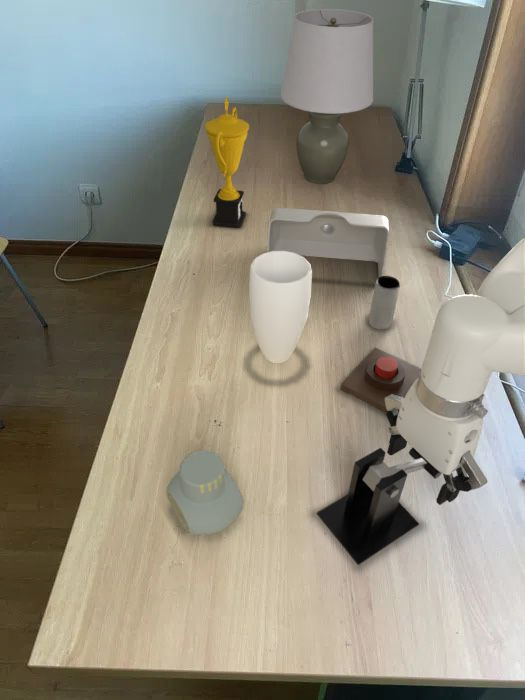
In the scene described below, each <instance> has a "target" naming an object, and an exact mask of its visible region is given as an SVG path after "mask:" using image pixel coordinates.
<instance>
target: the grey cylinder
mask: <svg viewBox="0 0 525 700" xmlns="http://www.w3.org/2000/svg"><path fill="white" fill-rule="evenodd" d="M400 289H401V282H400V280H399V279H398V278H396V277H394V276H390V275H383V276H381V277H379V276H378V277H377V278H376V280H375V283H374V288H373V295H372V300H371V303H370V310H369V316H368V325H370V326H371V327H373V328H375V329H377V330H386V329H390V328H391V326H392V325H393V324H392V323H393V320H394V315H395V310H396V305H397V301H398V297H399V293H400Z"/></svg>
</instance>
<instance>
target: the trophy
mask: <svg viewBox="0 0 525 700" xmlns="http://www.w3.org/2000/svg"><path fill="white" fill-rule="evenodd" d="M228 110H229V97H228V96H226V97H225V99H224V111H225V113H223V114H220V115H219V116H218V117H217V118H214V119H213V118H212V119H211V120H209V121H207V122H206V123H205V124H204V129H205V131H206V136H207V138H208V140H209V141H210V145H211V150H212V153H213V155H214V156H213V157H214V160H215V163H216V165H217V169H218V170H219V171H220V173H222V176H223V177H225V178H224V179H225V185H224V186H222V187H221V188H219V189H218V190H217V192H216V194H215V195H214V198H213V202H214V203H215V212H216V213H215V215H214V218H213V220H212V226H214V227H220V228H231V229H240V228H241V227H243V224H244V221H245V219H246V216H247V212H246V211H244V210H243V197H244V194H245V192H244V190H238V189H236V187H235V186H233V184H232V183H233V182H232V176H233V175H234V173H236V172H237V170H238V169H239V165H240V162H241V157H242V154H243V150H244V147H245V142H246V140H247V137H248V132H249V129H250V124H249V123H248V122H246V121H245V120H243V119H240V118H238V109H237V107H235V106H233V107H232V109H231V113H228Z"/></svg>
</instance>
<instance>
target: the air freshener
mask: <svg viewBox="0 0 525 700" xmlns="http://www.w3.org/2000/svg"><path fill="white" fill-rule="evenodd" d="M165 491H166V496H167V498H168V501H169V504H170V506H171V508H172V509H173V512H174V513H175V515H176V517H177V518H178V520H179V522H180V524H181V525H182V527H183V528H184V530H185V531H186V532H187V533H188V534H191V535H194V536H210V535H215V534H218V533H221V532H222V531H224V530H226V529H228V528H229V527H230V526H231V525H232V524H233V523H234V522H236V520H237V519H238V518H239V516H240V514H241V512H242V509H243V507H244V498H243V495H242V492H241V490H240V488H239V487H238V485H237V483H236V481H235V480H234V478H233V477H232V475H231V474H230V472H229V471H228V470H227V469H226V468H225V463H224V460H223V458H222V457H220V455H218V454H217V453H215V452H213V451H210V450H206V449H205V450H197V451H194V452H191V453H189V454H188V455H187V456H185V457H184V459H183V460H182V461H181V463H180V466H179V471H178V472H177V473H176V474H174V476H173V477H171V479H170V481H169V483H168V485H167V487H166V489H165Z"/></svg>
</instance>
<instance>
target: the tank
mask: <svg viewBox="0 0 525 700" xmlns="http://www.w3.org/2000/svg"><path fill="white" fill-rule="evenodd" d="M389 226H390V225H389V219H388V217H387V216H385V215H383V214H371V213H354V212H343V211H330V210H329V211H328V210H317V209H315V210H313V209H304V208H303V209H301V208H289V207H275V208H273V209H272V211H271V214H270V217H269V222H268V232H267V233H268V234H267V246H266V247H267V248H266V249H267V251H266V253H267V252H271V251H288V252H293V253H296V254H298V255H300V256H302V257H316V258H318V257H319V258H326V259H327V258H329V259H340V260H341V259H342V260H353V261H367V262H375V263H377V271H378V278H379V277H381V276H385V267H386V260H387V254H388V245H389V240H390V239H389V238H390V228H389Z"/></svg>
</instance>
